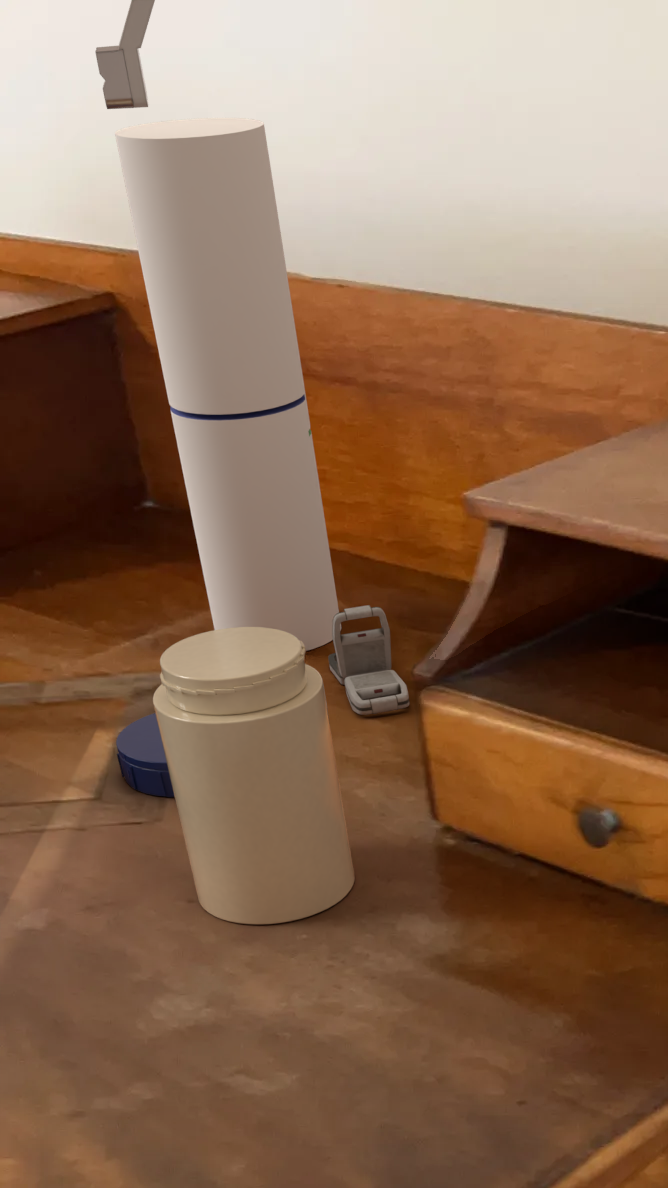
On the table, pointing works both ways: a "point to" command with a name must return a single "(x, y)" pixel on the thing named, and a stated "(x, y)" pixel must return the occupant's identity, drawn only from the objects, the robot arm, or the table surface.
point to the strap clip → (367, 664)
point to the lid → (144, 757)
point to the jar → (254, 775)
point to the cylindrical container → (232, 369)
